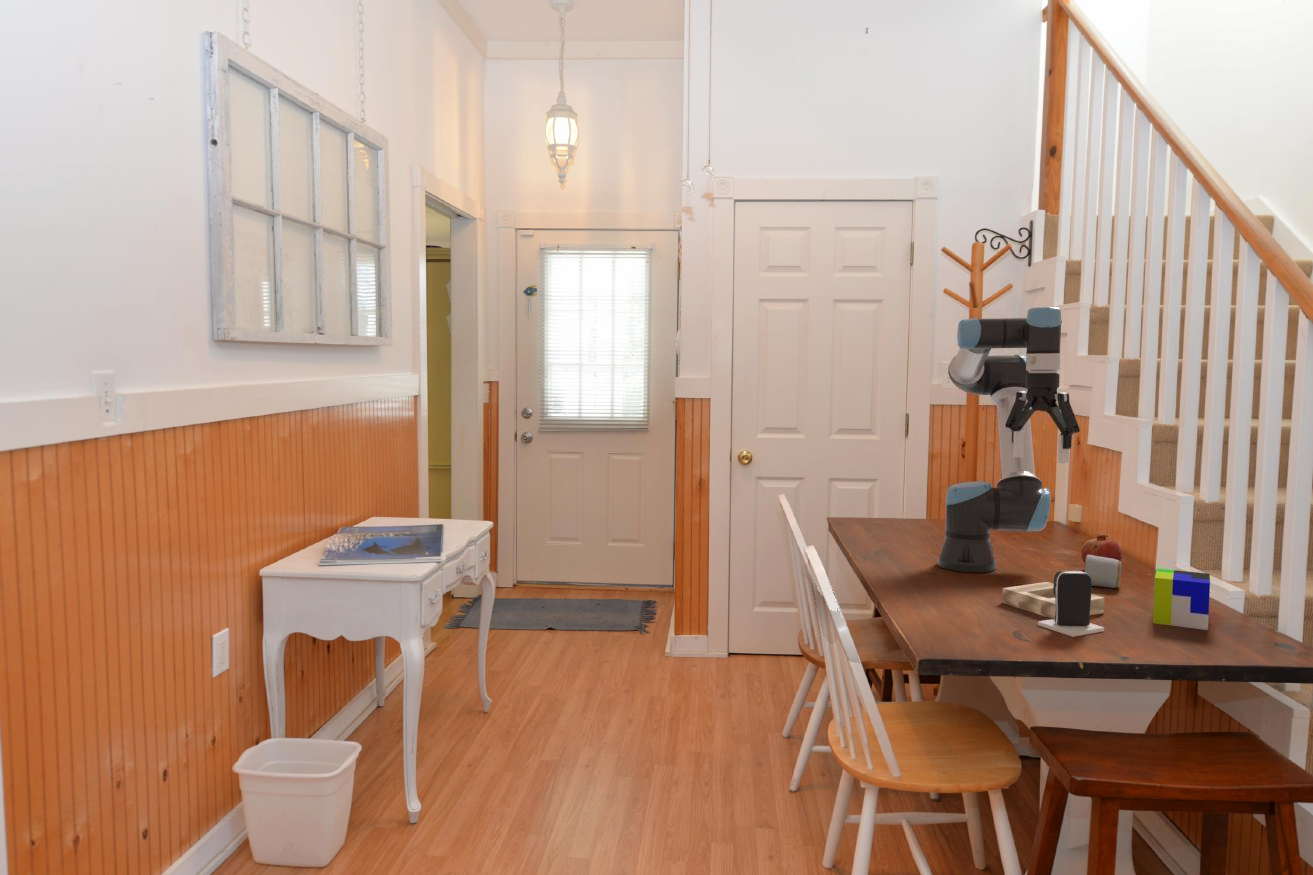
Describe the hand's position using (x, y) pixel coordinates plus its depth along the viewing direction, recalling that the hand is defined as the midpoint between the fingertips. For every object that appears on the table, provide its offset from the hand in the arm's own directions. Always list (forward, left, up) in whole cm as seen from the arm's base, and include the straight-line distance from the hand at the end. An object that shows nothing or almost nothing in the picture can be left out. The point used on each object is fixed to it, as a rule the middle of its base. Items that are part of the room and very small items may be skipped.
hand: (1040, 459), depth 212 cm
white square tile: (+25, -17, -33) cm, 44 cm away
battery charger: (+25, -17, -32) cm, 44 cm away
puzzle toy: (+31, +9, -33) cm, 46 cm away
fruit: (-8, +32, -33) cm, 47 cm away
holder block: (+12, -8, -33) cm, 36 cm away
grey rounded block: (+2, +20, -33) cm, 39 cm away
